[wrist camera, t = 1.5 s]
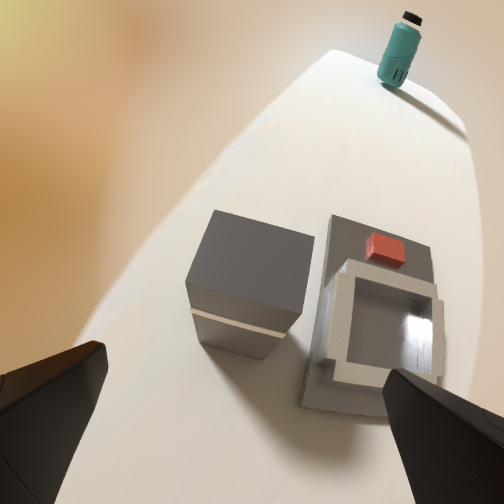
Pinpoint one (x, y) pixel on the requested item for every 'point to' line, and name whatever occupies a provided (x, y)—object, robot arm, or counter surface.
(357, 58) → the counter surface
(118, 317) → the counter surface
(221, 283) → the plug block
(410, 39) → the beverage bottle
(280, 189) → the counter surface
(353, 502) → the counter surface
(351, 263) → the grey socket base
